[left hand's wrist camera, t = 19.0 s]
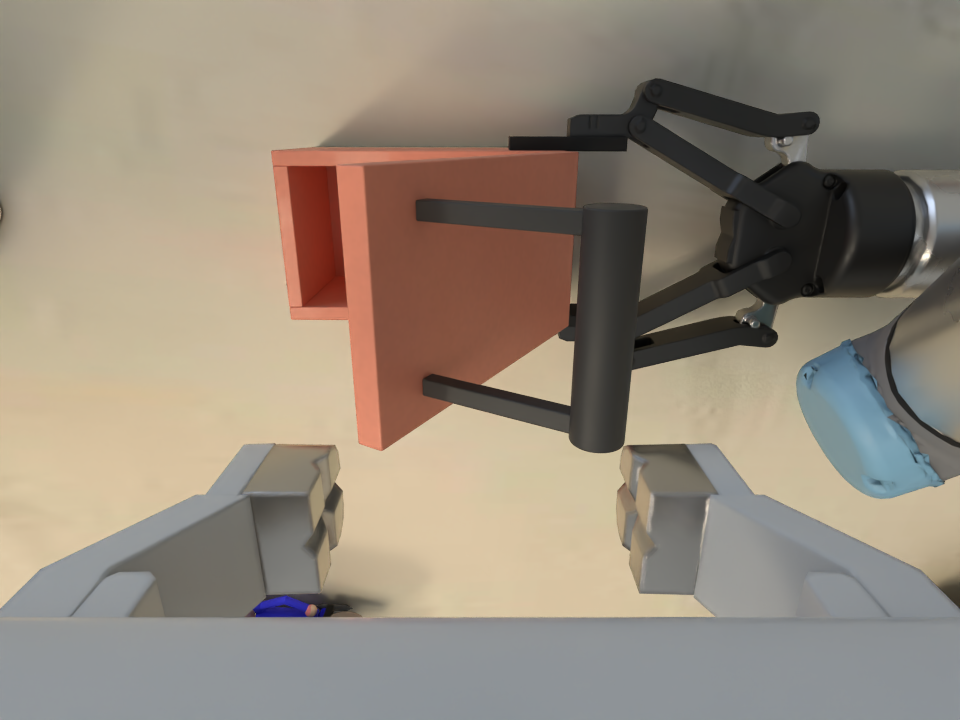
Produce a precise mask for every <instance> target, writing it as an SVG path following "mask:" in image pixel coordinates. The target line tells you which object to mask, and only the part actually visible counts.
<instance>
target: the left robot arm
mask: <svg viewBox="0 0 960 720" xmlns="http://www.w3.org/2000/svg"><path fill="white" fill-rule="evenodd" d="M0 219H1V208H0ZM339 470H340V462H339V454H338V450H337V448H336V446H335V445H306V444H275V443H268V444H246V445H243V447H242V448H241V449H240V450H239V452H238V453H237V454H236V456H235V457H234V458H233V459H232V461H231V462H230V463H229V465H228V466H227V467H226V469H225V470H224V471H223V472H222V474H221V475H220V476H219V478H218V479H217V480H216V482H215V483H214V484H213V485H212V487H211V488H210V489H209V491H208V492H207V493H206V495H195V496H192V497H190V498H188V499H186V500H184V501H182V502H180V503H178V504H176V505H174V506H172V507H169V508H167V509H165V510H163V511H161V512H159V513H157V514H155V515H153V516H151V517H149V518H147V519H144V520H142V521H140V522H138V523H136V524H134V525H132V526H130V527H128V528H126V529H124V530H121V531H119V532H117V533H115V534H113V535H111V536H109V537H107V538H105V539H103V540H101V541H98V542H96V543H94V544H92V545H90V546H88V547H86V548H84V549H82V550H80V551H78V552H75V553H73V554H71V555H69V556H67V557H65V558H63V559H61V560H59V561H57V562H55V563H52V564H50V565H48V566H46V567H44V568H42V569H40V570H39V571H38V572H37V573H36V574H35V575H34V576H33V577H32V578H31V579H30V580H29V581H28V582H27V583H26V584H25V585H24V586H23V587H22V588H21V589H20V590H19V591H18V592H17V593H16V594H15V595H14V596H13V597H12V598H11V599H10V600H9V601H8V602H7V603H6V604H5V605H4V606H3V607H2V608H1V609H0V720H960V609H959V608H958V607H957V606H956V605H955V604H954V603H953V602H952V601H951V600H950V599H949V598H948V597H947V596H946V595H945V594H944V593H943V592H942V591H941V590H940V589H939V588H938V587H937V586H936V585H935V584H934V583H933V582H932V581H931V580H930V579H929V578H928V577H927V576H926V575H925V574H924V573H923V572H922V571H921V570H920V569H917V568H915V567H913V566H911V565H909V564H907V563H905V562H903V561H901V560H899V559H897V558H895V557H892V556H890V555H888V554H886V553H884V552H882V551H880V550H878V549H876V548H874V547H872V546H870V545H867V544H865V543H863V542H861V541H859V540H857V539H855V538H853V537H851V536H849V535H847V534H845V533H842V532H840V531H838V530H836V529H834V528H832V527H830V526H828V525H826V524H824V523H822V522H820V521H817V520H815V519H813V518H811V517H809V516H807V515H805V514H803V513H801V512H799V511H797V510H795V509H793V508H790V507H788V506H786V505H784V504H782V503H780V502H778V501H776V500H774V499H772V498H770V497H768V496H765V495H754V493H753V492H752V491H751V489H750V488H749V487H748V486H747V484H746V483H745V482H744V480H743V479H742V478H741V477H740V475H739V474H738V473H737V471H736V470H735V469H734V467H733V466H732V465H731V464H730V462H729V461H728V460H727V458H726V457H725V456H724V455H723V453H722V452H721V451H720V449H719V448H718V447H717V446H716V445H714V444H712V443H704V444H660V445H627V446H623V450H622V454H621V460H620V470H621V473H622V475H623V478H624V480H625V483H624V484H623V485H622V486H621V487H620V489H619V490H618V491H617V504H616V513H617V526H618V531H619V536H620V539H621V542H622V545H623V546H624V547H625V548H627V549H628V550H629V551H630V559H629V566H630V568H631V571H632V574H633V577H634V580H635V582H636V585H637V588H638V591H639V593H643V594H680V595H694V598H695V599H696V600H697V601H698V602H700V603H701V604H702V605H703V606H704V607H705V608H706V609H708V610H709V611H710V612H711V613H712V614H713V615H714V616H715V617H245V616H246V615H247V614H248V613H249V612H250V611H252V610H253V609H254V608H255V607H256V606H257V605H258V604H260V603H261V602H262V601H263V600H264V599H265V598H266V595H279V594H315V593H321V591H322V588H323V585H324V582H325V580H326V577H327V574H328V571H329V568H330V566H331V559H330V551H331V550H332V549H333V548H335V547H336V546H337V545H338V542H339V539H340V536H341V532H342V525H343V518H344V502H343V491H342V490H341V489H340V487H339V486H338V485H337V484H336V483H335V480H336V478H337V475H338V473H339Z"/></svg>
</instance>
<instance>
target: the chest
mask: <svg viewBox="0 0 960 720" xmlns="http://www.w3.org/2000/svg"><path fill="white" fill-rule="evenodd" d="M541 152H559V151H511V150H509V147H312V148H299V149H286V150H273V151H271V153H272V162H273V171H274V179H275V188H276V196H277V205H278V213H279V221H280V230H281V238H282V247H283V255H284V264H285V272H286V281H287V289H288V298H289V306H290V313H291V319H292V320H349V318H348V306H347V293H346V281H345V269H344V257H343V244H342V232H341V220H340V208H339V195H338V183H337V171H336V165H338V164H352V163H369V162H386V161H403V160H421V159H438V158H455V157H472V156H490V155H507V154H524V153H541ZM566 152H567V151H566Z"/></svg>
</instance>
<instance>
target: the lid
mask: <svg viewBox="0 0 960 720" xmlns="http://www.w3.org/2000/svg"><path fill="white" fill-rule="evenodd" d="M578 154H579V153H578V152H566V151H559V152H541V153H524V154H507V155H490V156H472V157H455V158H438V159H421V160H403V161H386V162H369V163H352V164H338V165H336V171H337V183H338V195H339V208H340V220H341V232H342V244H343V257H344V269H345V281H346V293H347V306H348V318H349V330H350V342H351V355H352V367H353V379H354V391H355V404H356V416H357V428H358V440H359V444H362V445H365V446H368V447H371V448H374V449H377V450H380V451H383V450H384V449H386V448H387V447H389V446H390V445H392V444H393V443H395V442H396V441H398V440H399V439H401V438H402V437H404V436H405V435H407V434H408V433H410V432H411V431H413V430H414V429H416V428H417V427H419V426H420V425H422V424H423V423H425V422H426V421H428V420H429V419H430V418H432V417H433V416H435V415H436V414H438V413H439V412H441V411H442V410H444V409H445V408H447V407H448V406H450V405H451V404H453V403H454V404H458V405H462V406H465V407H469V408H473V409H477V410H481V411H485V412H489V413H492V414H496V415H500V416H504V417H508V418H512V419H515V420H519V421H523V422H527V423H531V424H535V425H538V426H542V427H546V428H550V429H554V430H558V431H561V432H565V433H569V440H570V442H571V443H572V444H573V445H574V446H576V447H577V448H579V449H582V450H584V451H588V452H593V453H610V452H614V451H617V450H619V449H620V448H621V447H622V446H623V445H624V441H625V431H626V421H627V411H628V401H629V391H630V381H631V372H632V362H633V352H634V342H635V332H636V322H637V312H638V302H639V292H640V283H641V273H642V263H643V253H644V243H645V233H646V223H647V213H648V209H647V207H645V206H641V205H635V204H622V203H597V204H588V205H585V206H584V207H583V208H575V205H576V188H577V171H578ZM574 235H581V249H580V265H579V281H578V297H577V313H576V329H575V345H574V361H573V377H572V393H571V406H567V405H563V404H559V403H555V402H550V401H546V400H542V399H538V398H533V397H529V396H525V395H521V394H517V393H512V392H508V391H504V390H500V389H495V388H491V387H487V386H483V385H481V384H483V383H484V382H486V381H487V380H489V379H490V378H492V377H493V376H495V375H496V374H497V373H499V372H500V371H502V370H503V369H505V368H506V367H508V366H509V365H511V364H512V363H514V362H515V361H517V360H518V359H520V358H521V357H523V356H524V355H526V354H527V353H529V352H530V351H532V350H533V349H535V348H536V347H538V346H539V345H541V344H542V343H544V342H545V341H547V340H548V339H550V338H551V337H553V336H554V335H556V334H557V333H559V332H560V331H562V330H563V329H564V328H566V327H567V326H568V325H569V309H570V291H571V274H572V257H573V240H574Z"/></svg>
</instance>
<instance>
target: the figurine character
mask: <svg viewBox="0 0 960 720" xmlns="http://www.w3.org/2000/svg"><path fill="white" fill-rule="evenodd" d="M284 604H285V605H287V606H290V607H292V608H285V607H276V606H280V605H284ZM317 608H319V609H321V611H320V613H319V609H317ZM350 609H353V608H351V607H350V606H348V605H338V604H320V605H318V606H315V605H313V604H311V605H309V604H307V603H304V602H302V601H299V600H297V599H294V598H291V597H289V596H287V595H285V596H282V597H278V598H274V599H270V600H266V601H262V602H261V603H260V604H258V605H257V606H256V607H255V608H254V609H253V610H252V611H250V612H249V613H248V614H247V615H246V616H245V617H255V615H254V612H255V613H256V617H362V616H361V615H359V614H357V613H354V612H348V610H350ZM334 611H344V612H338V613H335V614H333V613H334Z"/></svg>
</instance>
